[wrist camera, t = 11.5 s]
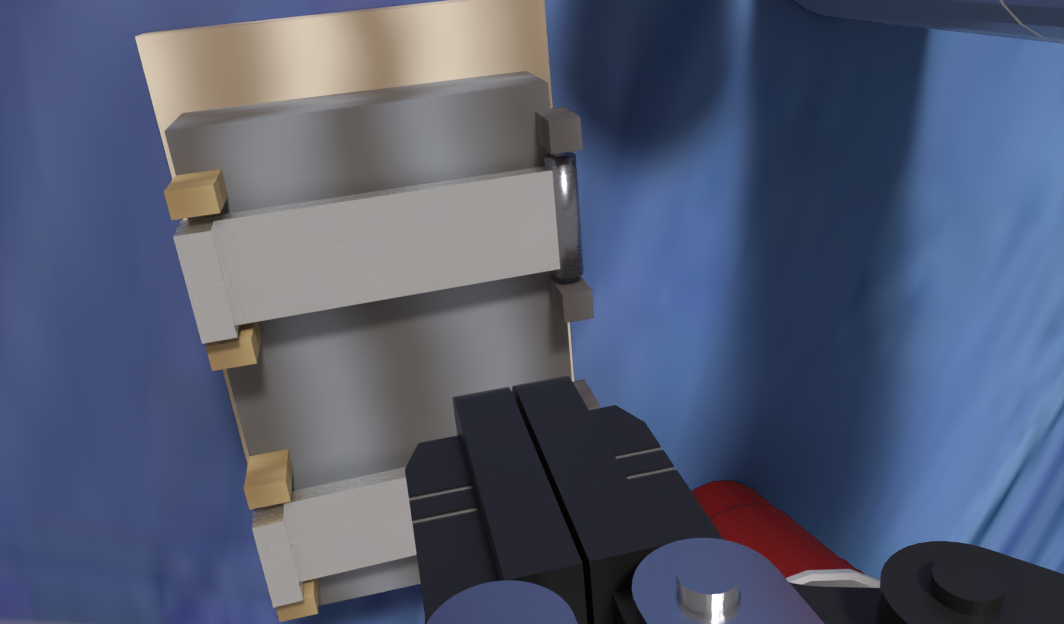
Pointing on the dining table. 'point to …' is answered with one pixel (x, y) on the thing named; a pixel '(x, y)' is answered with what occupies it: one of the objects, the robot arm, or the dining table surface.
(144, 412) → the dining table surface
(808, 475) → the dining table surface
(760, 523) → the plastic cup
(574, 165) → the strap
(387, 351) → the heat sink base
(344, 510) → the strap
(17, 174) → the dining table surface
